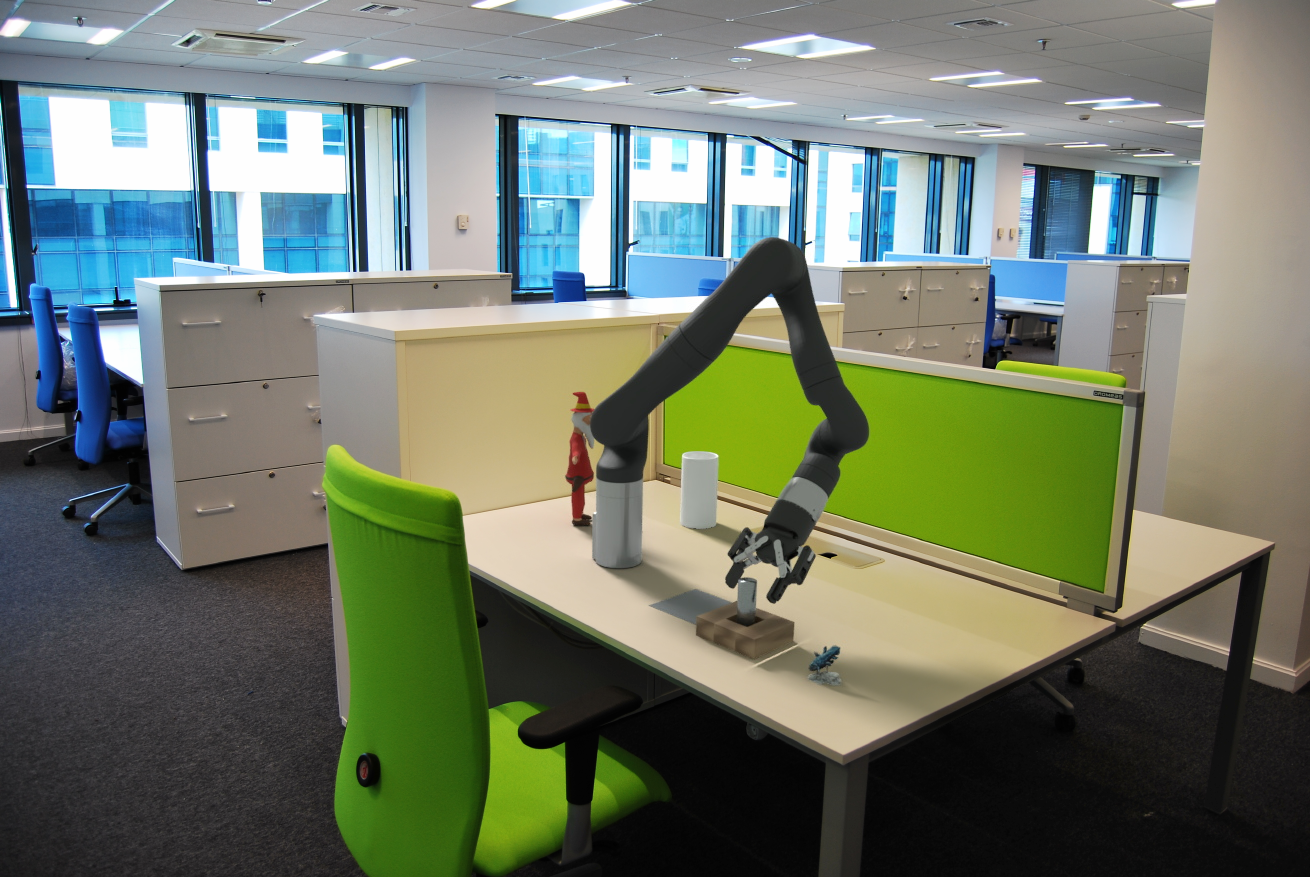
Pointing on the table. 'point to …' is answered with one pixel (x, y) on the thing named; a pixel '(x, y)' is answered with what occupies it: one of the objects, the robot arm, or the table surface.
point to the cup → (699, 489)
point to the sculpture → (822, 662)
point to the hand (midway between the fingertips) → (749, 593)
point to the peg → (746, 601)
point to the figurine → (580, 458)
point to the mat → (690, 605)
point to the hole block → (745, 631)
